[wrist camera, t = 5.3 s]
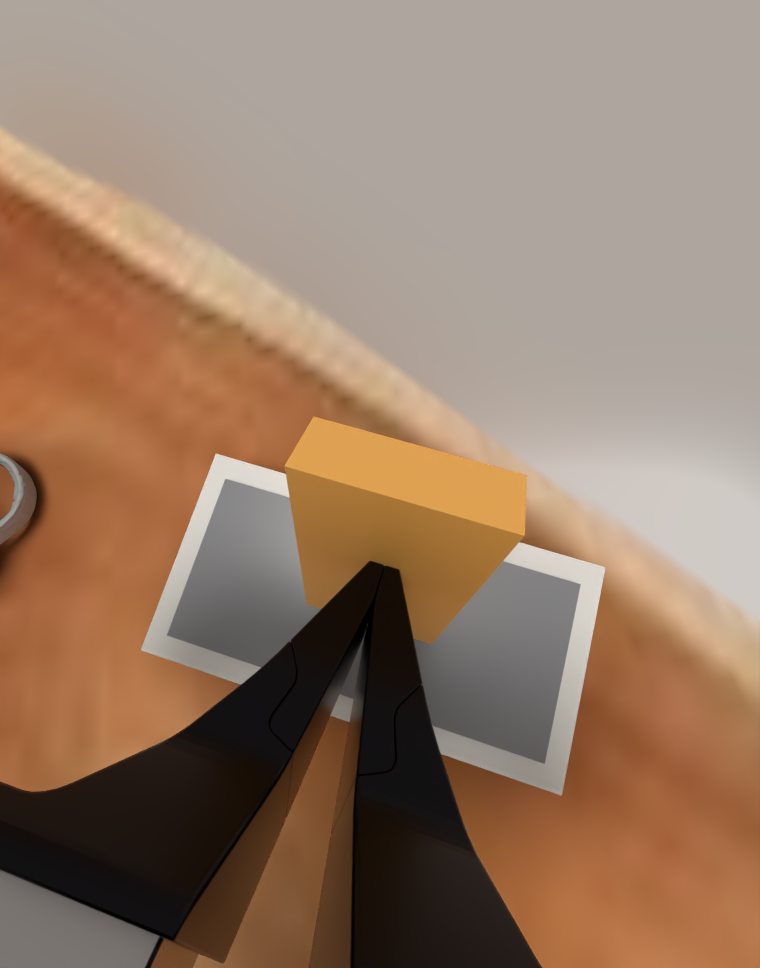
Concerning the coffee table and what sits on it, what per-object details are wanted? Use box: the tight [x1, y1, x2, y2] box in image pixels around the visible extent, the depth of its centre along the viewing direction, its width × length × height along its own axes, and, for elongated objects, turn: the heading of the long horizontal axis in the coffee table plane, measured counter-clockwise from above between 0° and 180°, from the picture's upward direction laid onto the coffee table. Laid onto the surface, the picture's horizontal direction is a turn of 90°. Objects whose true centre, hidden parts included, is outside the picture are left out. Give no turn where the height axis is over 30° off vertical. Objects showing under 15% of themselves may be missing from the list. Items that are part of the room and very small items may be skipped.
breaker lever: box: [285, 417, 527, 644], centre depth 11 cm, size 2×5×8 cm, turn 72°
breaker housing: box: [141, 454, 605, 796], centre depth 17 cm, size 9×18×4 cm, turn 73°
